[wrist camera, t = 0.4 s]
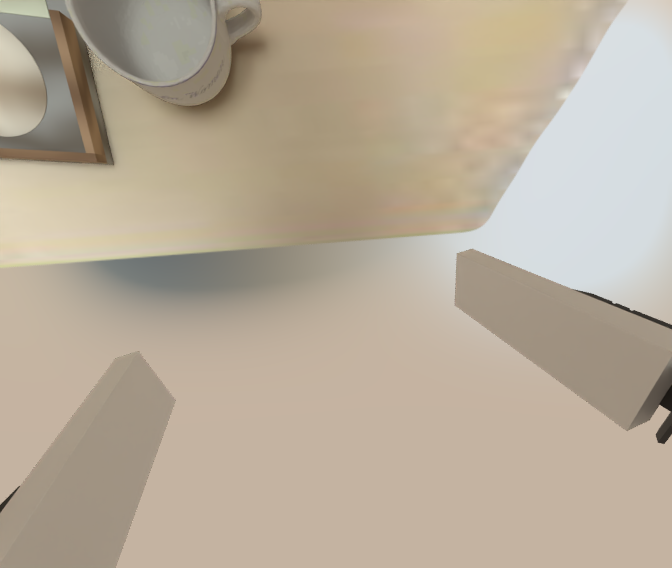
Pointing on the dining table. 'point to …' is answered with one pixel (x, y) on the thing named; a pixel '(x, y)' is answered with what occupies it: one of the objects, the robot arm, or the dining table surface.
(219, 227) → the dining table surface
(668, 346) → the robot arm
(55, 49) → the board
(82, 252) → the dining table surface
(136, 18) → the teacup
